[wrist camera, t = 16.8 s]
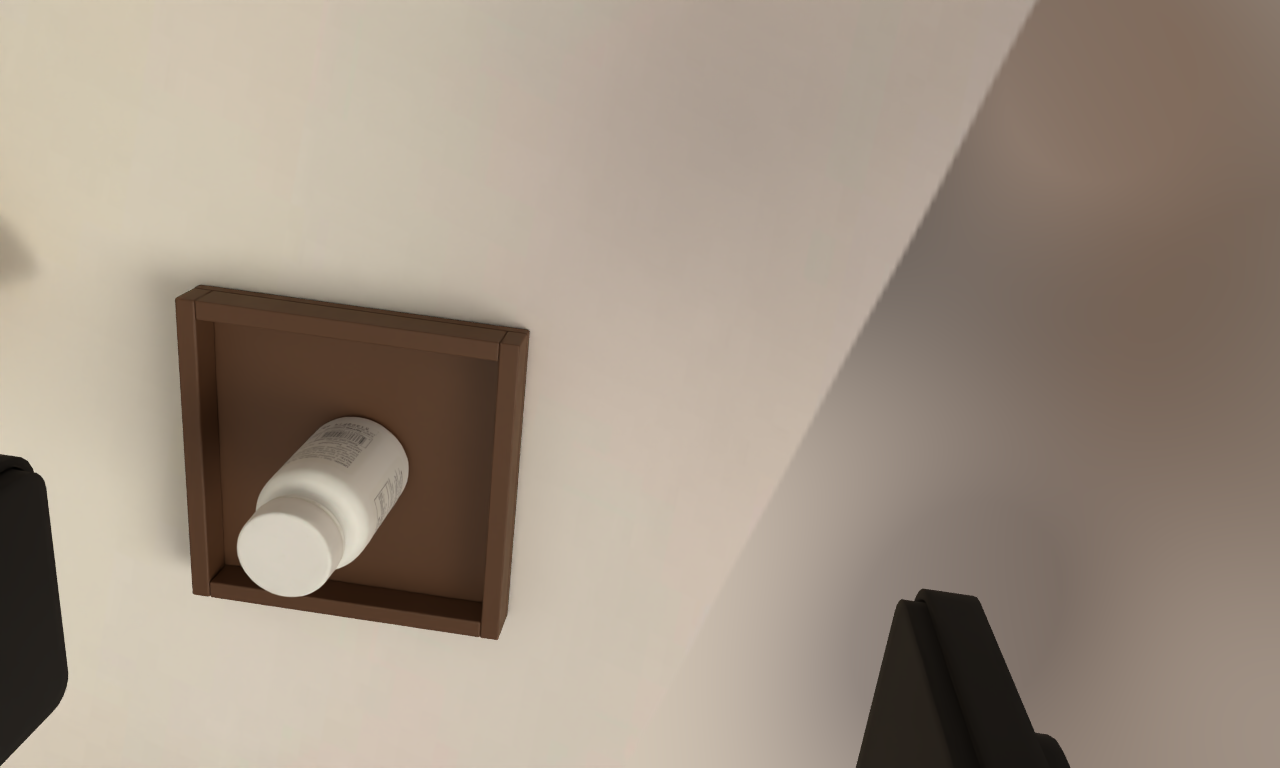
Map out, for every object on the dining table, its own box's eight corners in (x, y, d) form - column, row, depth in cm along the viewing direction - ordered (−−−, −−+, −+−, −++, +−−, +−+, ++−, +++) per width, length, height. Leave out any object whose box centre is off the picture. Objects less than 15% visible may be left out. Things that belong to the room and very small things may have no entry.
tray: (529, 329, 39) (520, 345, 38) (507, 614, 44) (497, 640, 42) (199, 284, 40) (173, 297, 38) (214, 570, 45) (191, 594, 43)
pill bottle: (288, 447, 42) (196, 539, 34) (365, 395, 40) (287, 479, 33) (354, 524, 43) (279, 629, 36) (432, 476, 42) (369, 574, 34)
